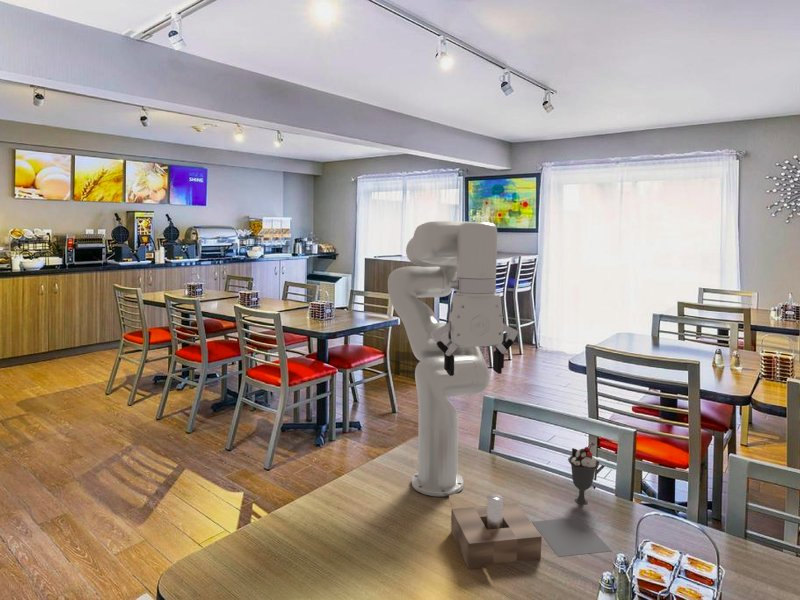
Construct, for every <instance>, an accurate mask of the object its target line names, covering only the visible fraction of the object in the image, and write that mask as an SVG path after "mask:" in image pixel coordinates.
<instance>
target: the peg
mask: <svg viewBox="0 0 800 600" xmlns="http://www.w3.org/2000/svg"><path fill="white" fill-rule="evenodd" d="M486 502H487V503H486V504H487V505H486V506H487V530H489V529H500V528H502V526H503V504H504V497H503V496H502V495H500V494H496V493H495V494H489V495H488V496H487V501H486Z"/></svg>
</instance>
